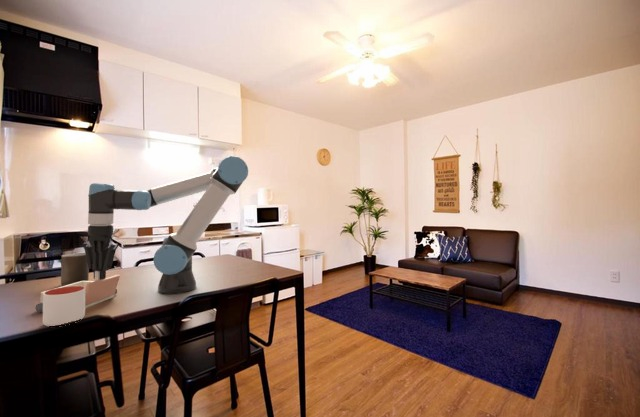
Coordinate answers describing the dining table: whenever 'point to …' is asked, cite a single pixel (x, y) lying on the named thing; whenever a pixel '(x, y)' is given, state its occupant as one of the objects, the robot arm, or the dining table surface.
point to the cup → (63, 305)
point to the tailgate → (101, 289)
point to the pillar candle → (74, 268)
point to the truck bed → (82, 283)
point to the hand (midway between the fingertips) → (99, 287)
